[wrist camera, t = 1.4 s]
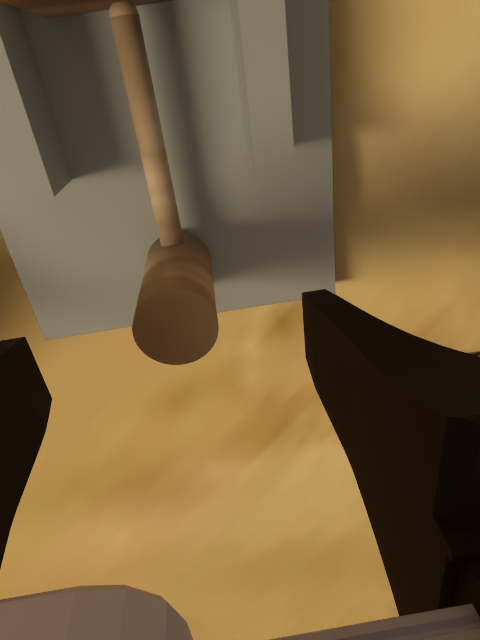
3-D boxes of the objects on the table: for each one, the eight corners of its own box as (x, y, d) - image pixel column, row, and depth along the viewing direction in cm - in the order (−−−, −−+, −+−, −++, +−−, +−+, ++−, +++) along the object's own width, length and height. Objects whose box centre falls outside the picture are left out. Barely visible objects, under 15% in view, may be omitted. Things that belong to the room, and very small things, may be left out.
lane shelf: (307, -413, 10) (366, -652, 7) (328, 283, 19) (359, 331, 16) (-215, -349, 10) (-425, -565, 7) (51, 327, 19) (21, 385, 16)
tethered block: (167, -264, 11) (152, -494, 6) (242, 281, 18) (259, 352, 13) (-25, -239, 10) (-176, -454, 6) (128, 299, 18) (108, 376, 13)
